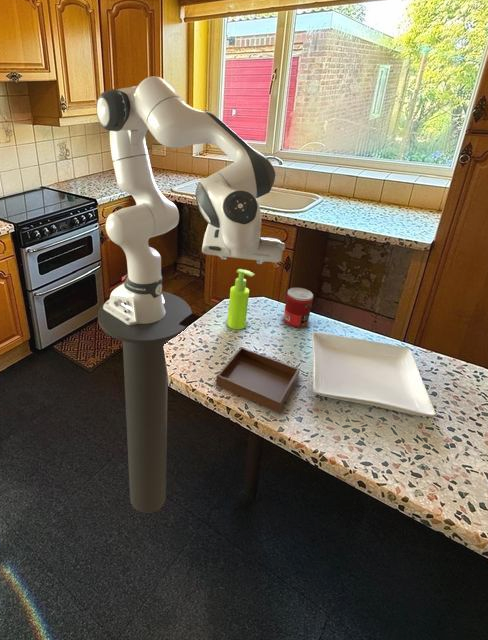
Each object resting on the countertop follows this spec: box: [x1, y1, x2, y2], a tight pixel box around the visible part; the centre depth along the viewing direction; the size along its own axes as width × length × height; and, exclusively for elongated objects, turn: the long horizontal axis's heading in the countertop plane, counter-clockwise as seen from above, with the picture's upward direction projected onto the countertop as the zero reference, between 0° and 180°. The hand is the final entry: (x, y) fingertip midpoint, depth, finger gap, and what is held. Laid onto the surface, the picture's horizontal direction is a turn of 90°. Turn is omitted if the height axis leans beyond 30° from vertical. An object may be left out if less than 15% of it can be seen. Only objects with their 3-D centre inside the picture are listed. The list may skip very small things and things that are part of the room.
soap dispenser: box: [226, 268, 256, 330], centre depth 127 cm, size 6×7×20 cm
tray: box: [215, 346, 301, 414], centre depth 107 cm, size 17×15×3 cm
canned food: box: [283, 287, 314, 329], centre depth 131 cm, size 8×8×11 cm
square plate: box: [310, 331, 437, 418], centre depth 108 cm, size 27×27×4 cm
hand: (241, 259), depth 108 cm, fingers open, 8 cm apart
